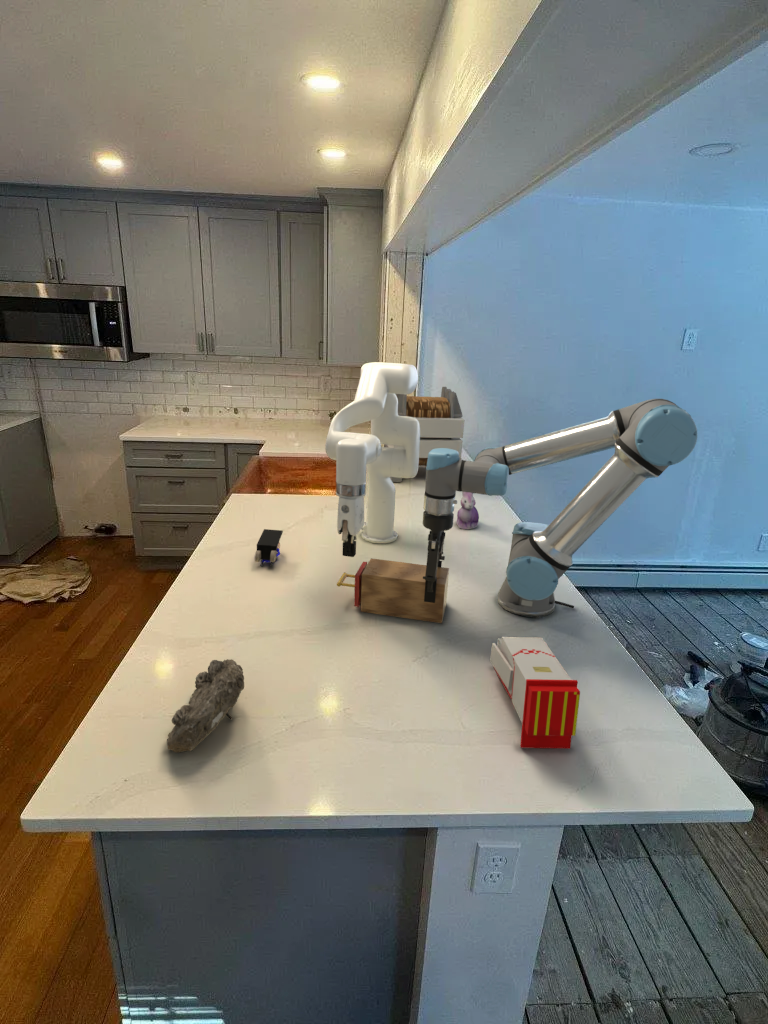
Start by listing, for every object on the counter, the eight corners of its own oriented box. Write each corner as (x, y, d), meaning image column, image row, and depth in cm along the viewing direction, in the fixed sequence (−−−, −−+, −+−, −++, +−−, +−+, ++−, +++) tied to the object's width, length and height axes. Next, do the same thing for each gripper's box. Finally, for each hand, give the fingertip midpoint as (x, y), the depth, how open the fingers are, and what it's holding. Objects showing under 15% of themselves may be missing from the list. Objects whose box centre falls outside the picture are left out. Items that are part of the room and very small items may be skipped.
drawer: (335, 603, 149) (335, 572, 146) (344, 588, 157) (344, 559, 154) (429, 617, 145) (432, 585, 142) (434, 601, 153) (436, 570, 150)
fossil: (192, 660, 117) (244, 628, 112) (224, 691, 120) (276, 661, 115) (142, 746, 98) (202, 712, 93) (182, 779, 101) (242, 748, 96)
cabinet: (360, 611, 148) (361, 573, 144) (369, 594, 157) (370, 558, 153) (441, 623, 144) (445, 584, 140) (446, 604, 153) (449, 568, 149)
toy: (539, 620, 128) (589, 687, 99) (533, 674, 131) (581, 755, 102) (485, 619, 128) (521, 686, 99) (481, 673, 131) (514, 755, 101)
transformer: (382, 463, 289) (386, 382, 275) (445, 464, 293) (451, 384, 279) (390, 482, 257) (394, 392, 243) (460, 483, 261) (468, 394, 247)
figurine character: (277, 573, 169) (284, 548, 183) (276, 551, 166) (283, 527, 179) (254, 573, 169) (263, 547, 182) (252, 551, 166) (262, 527, 179)
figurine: (464, 531, 204) (468, 492, 199) (448, 522, 212) (452, 484, 207) (485, 528, 208) (490, 489, 203) (469, 519, 217) (473, 481, 212)
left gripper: (357, 499, 135) (355, 568, 141) (372, 482, 149) (369, 546, 155) (327, 495, 136) (326, 565, 142) (344, 479, 150) (343, 543, 156)
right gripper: (449, 529, 129) (441, 615, 136) (458, 499, 149) (451, 575, 157) (416, 525, 130) (410, 610, 137) (429, 496, 151) (424, 571, 158)
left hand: (349, 555), depth 149 cm, fingers closed
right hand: (432, 592), depth 147 cm, fingers closed on cabinet, 10 cm apart
